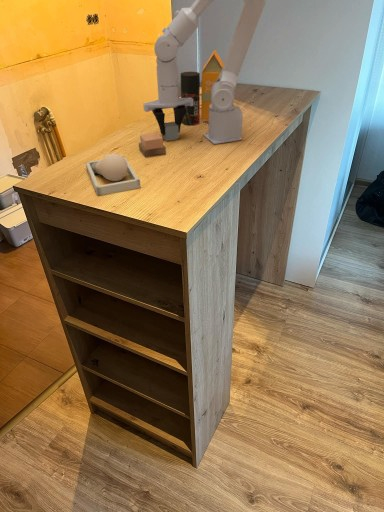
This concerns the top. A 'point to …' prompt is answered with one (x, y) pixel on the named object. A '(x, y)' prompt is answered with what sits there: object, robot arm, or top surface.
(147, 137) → the terracotta slab
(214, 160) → the top surface
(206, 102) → the orange juice
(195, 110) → the deodorant
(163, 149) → the walnut slab
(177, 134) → the slate cube
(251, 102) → the top surface
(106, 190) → the grey tray rim
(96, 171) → the light bulb
